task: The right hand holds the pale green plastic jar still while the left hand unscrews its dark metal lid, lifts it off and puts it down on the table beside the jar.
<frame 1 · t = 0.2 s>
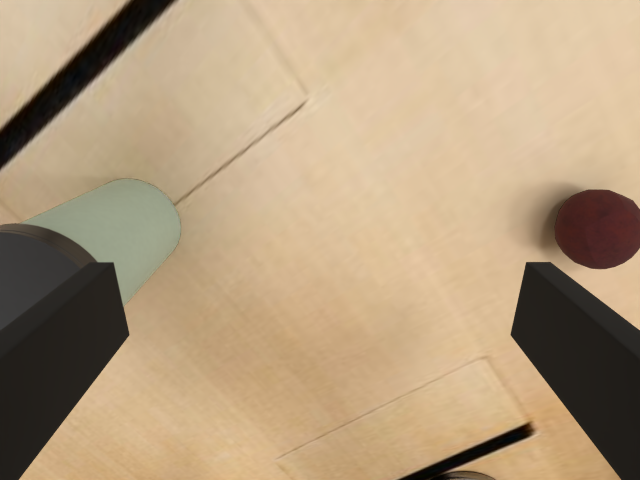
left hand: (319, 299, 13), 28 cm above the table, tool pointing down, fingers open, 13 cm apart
jar: (135, 223, 41), on the table
lid: (26, 304, 26), point 17 cm above the table, screwed on, not yet turned
dark red ball: (574, 216, 41), on the table
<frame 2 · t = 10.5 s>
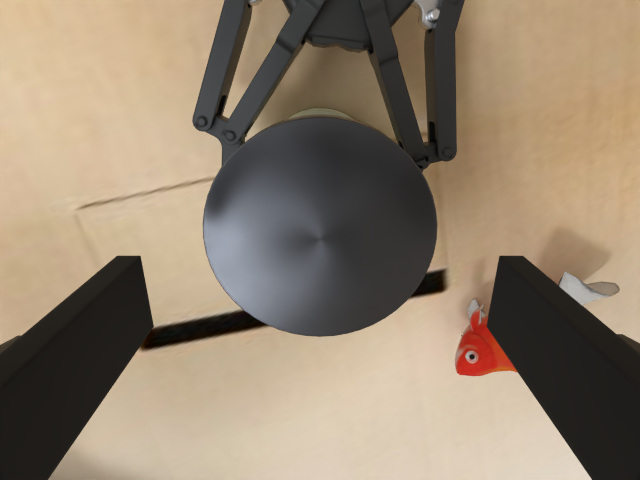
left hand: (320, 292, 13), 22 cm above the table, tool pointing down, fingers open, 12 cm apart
right hand: (312, 242, 29), fingers closed on jar, 10 cm apart
jar: (320, 166, 33), on the table, touching right hand
lid: (320, 236, 18), point 17 cm above the table, screwed on, not yet turned
fish: (513, 300, 38), on the table
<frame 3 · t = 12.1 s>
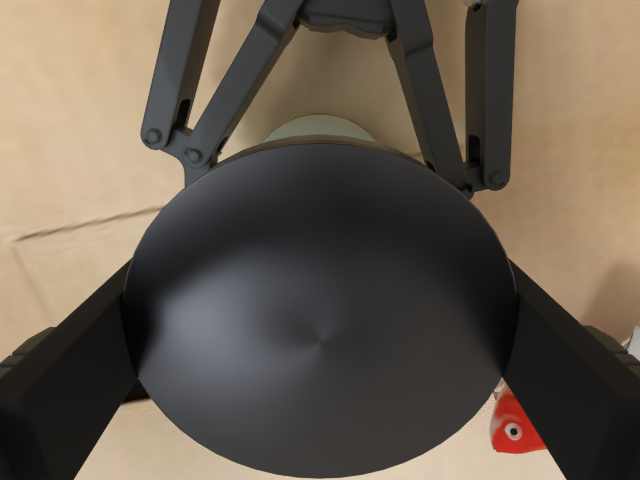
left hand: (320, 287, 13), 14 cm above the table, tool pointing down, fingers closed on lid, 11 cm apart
jar: (319, 188, 26), on the table, touching right hand
lid: (320, 334, 11), point 17 cm above the table, screwed on, not yet turned, touching left hand
fish: (557, 349, 31), on the table
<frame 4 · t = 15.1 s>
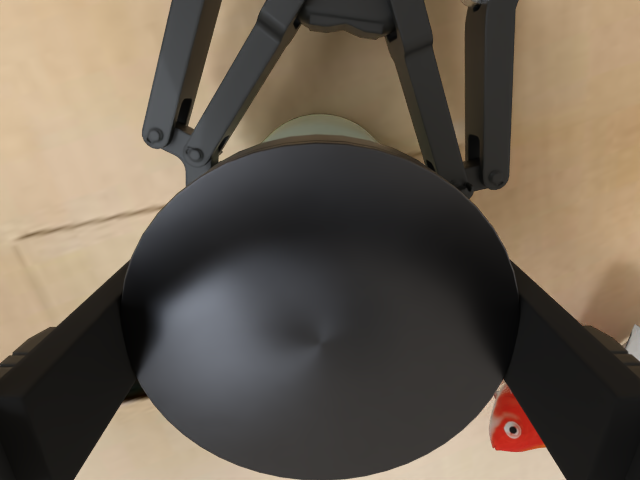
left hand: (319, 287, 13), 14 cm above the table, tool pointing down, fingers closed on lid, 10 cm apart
jar: (320, 188, 26), on the table, touching right hand
lid: (320, 335, 11), point 17 cm above the table, turned 76° so far, risen 0.2 cm, still on its thread, touching left hand
fish: (556, 348, 31), on the table
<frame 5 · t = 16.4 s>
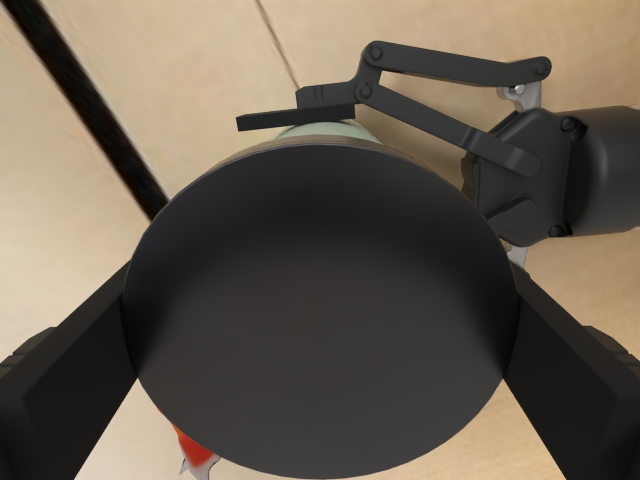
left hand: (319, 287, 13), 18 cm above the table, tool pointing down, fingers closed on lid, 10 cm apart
jar: (325, 177, 30), on the table, touching right hand
lid: (320, 335, 11), point 21 cm above the table, off its thread, touching left hand
fish: (239, 393, 38), on the table
when the left hand's fingers open (0 cm above the table, at t = 21.7 s): lid drops 2 cm, point 1 cm above the table.
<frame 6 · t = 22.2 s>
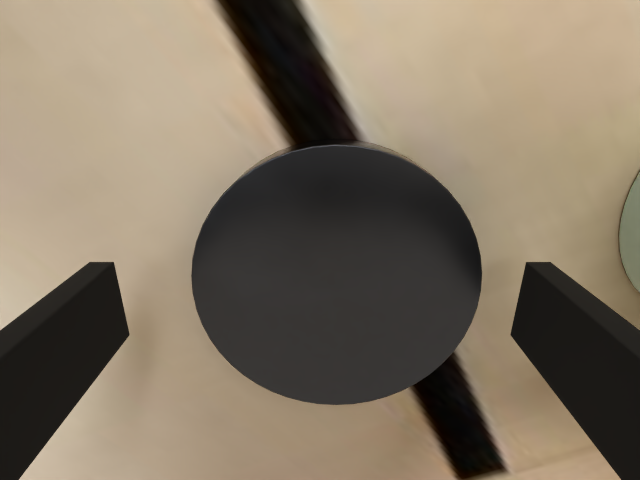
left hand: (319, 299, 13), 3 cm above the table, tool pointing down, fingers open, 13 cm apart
lid: (335, 287, 15), point 1 cm above the table, off its thread
when the right hand's fingers open (7 cm above the table, at t = 22.7 s): jar stays where it is, on the table.
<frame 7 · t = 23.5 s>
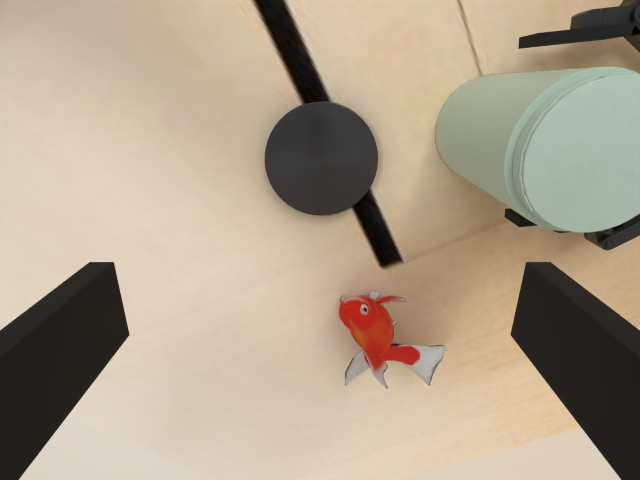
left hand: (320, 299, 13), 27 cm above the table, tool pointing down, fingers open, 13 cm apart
jar: (485, 129, 37), on the table
lid: (321, 161, 37), point 1 cm above the table, off its thread
fish: (383, 321, 45), on the table
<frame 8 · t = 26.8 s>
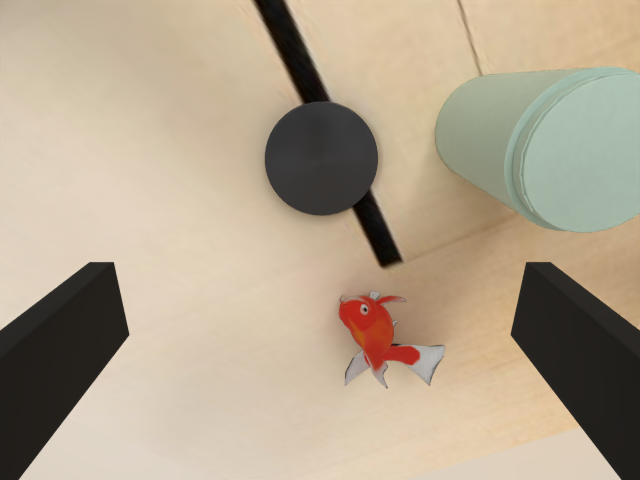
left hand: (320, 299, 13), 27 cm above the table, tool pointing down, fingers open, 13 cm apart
jar: (485, 129, 37), on the table
lid: (321, 161, 37), point 1 cm above the table, off its thread
fish: (383, 321, 45), on the table
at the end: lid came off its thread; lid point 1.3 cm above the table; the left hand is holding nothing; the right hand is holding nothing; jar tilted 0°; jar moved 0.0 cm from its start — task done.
